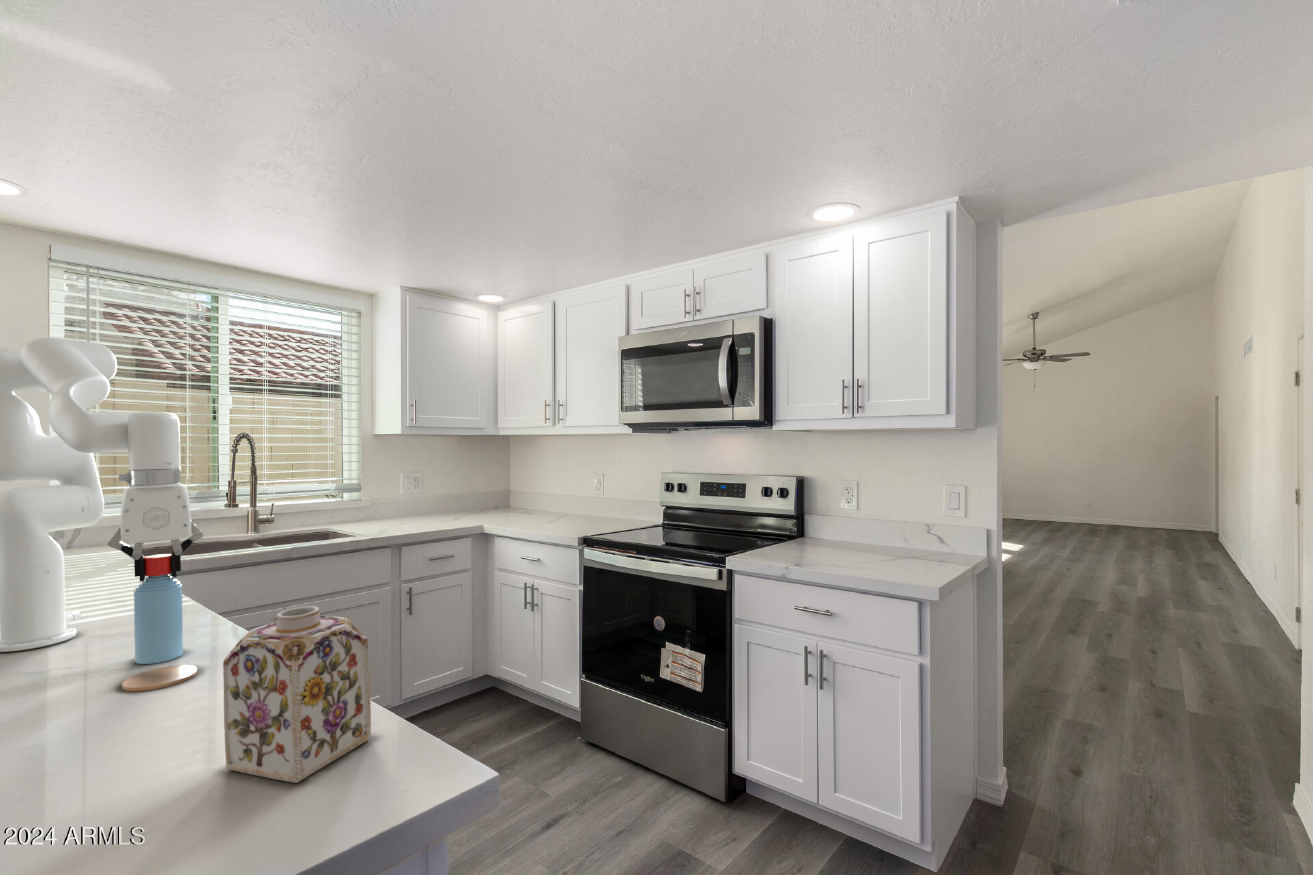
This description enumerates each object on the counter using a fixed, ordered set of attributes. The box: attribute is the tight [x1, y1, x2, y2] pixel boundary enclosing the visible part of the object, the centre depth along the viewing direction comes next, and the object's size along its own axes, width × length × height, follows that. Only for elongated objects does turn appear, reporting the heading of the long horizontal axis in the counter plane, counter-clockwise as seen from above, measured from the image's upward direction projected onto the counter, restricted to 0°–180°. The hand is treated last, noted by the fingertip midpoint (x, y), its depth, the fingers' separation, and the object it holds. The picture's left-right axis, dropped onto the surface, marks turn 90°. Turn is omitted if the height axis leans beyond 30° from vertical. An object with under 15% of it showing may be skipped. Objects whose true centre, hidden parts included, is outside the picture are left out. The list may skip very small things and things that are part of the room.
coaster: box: [121, 664, 198, 692], centre depth 107 cm, size 10×10×1 cm
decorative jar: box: [222, 605, 372, 784], centre depth 79 cm, size 12×12×18 cm
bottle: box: [133, 574, 184, 665], centre depth 118 cm, size 7×7×18 cm
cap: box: [143, 553, 172, 577], centre depth 118 cm, size 4×4×3 cm
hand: (158, 576), depth 118 cm, fingers closed on cap, 4 cm apart
